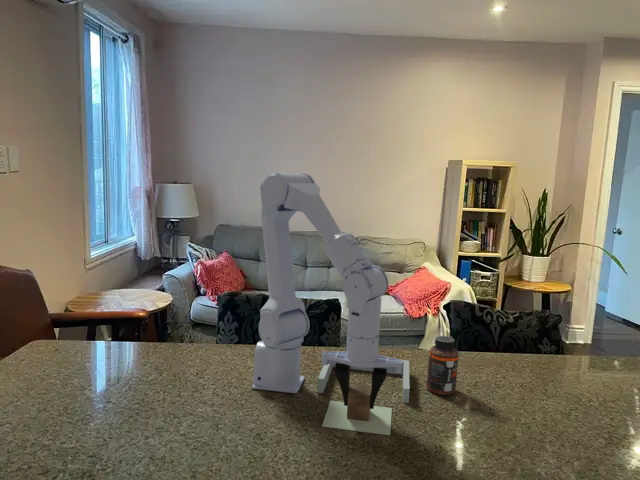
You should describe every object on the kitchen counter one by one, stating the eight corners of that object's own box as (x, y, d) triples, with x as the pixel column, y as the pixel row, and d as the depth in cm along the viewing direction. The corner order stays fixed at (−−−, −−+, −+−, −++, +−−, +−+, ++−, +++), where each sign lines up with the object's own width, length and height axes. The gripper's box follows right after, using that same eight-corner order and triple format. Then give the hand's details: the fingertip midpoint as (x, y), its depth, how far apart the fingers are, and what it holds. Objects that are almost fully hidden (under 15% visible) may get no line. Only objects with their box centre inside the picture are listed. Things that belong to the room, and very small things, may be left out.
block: (346, 418, 89) (348, 392, 88) (349, 408, 93) (350, 383, 92) (368, 421, 88) (370, 395, 88) (370, 411, 92) (371, 386, 92)
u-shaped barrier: (317, 392, 99) (317, 378, 99) (328, 364, 114) (329, 352, 114) (408, 403, 96) (409, 389, 96) (408, 373, 111) (409, 360, 111)
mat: (321, 426, 86) (321, 426, 86) (330, 401, 96) (330, 400, 96) (390, 435, 84) (390, 434, 84) (391, 408, 94) (391, 408, 94)
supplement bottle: (456, 398, 100) (460, 345, 98) (426, 394, 101) (430, 342, 99) (454, 386, 105) (458, 335, 104) (426, 382, 107) (430, 332, 105)
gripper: (404, 330, 91) (399, 399, 92) (327, 323, 93) (324, 390, 95) (403, 343, 84) (398, 417, 86) (320, 335, 86) (317, 407, 88)
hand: (359, 404), depth 90 cm, fingers closed on block, 4 cm apart
